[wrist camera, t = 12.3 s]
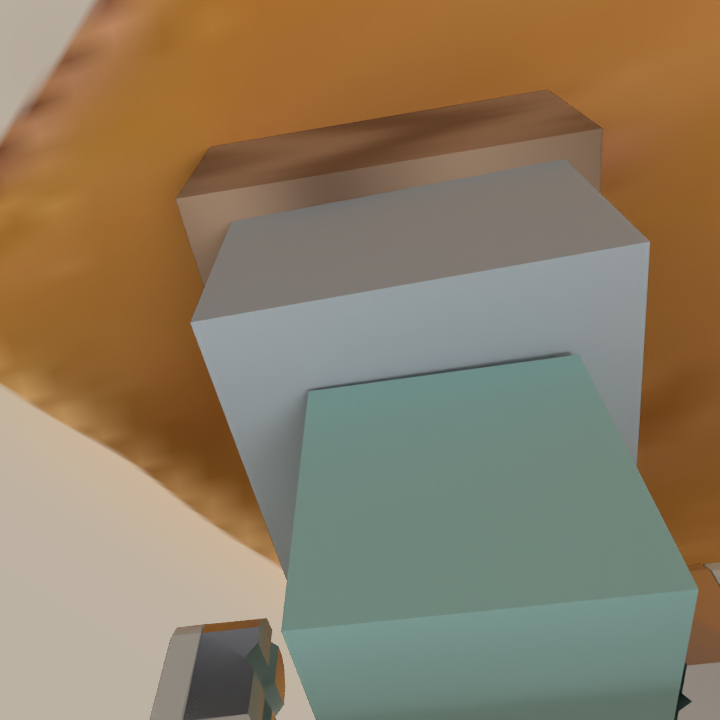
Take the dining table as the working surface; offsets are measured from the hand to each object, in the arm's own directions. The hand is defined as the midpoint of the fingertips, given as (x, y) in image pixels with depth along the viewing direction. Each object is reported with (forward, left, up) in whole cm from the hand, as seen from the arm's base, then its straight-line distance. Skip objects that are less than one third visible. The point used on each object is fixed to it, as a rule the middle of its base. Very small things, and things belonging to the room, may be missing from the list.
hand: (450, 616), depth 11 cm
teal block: (0, 0, -3) cm, 3 cm away
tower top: (0, 0, -8) cm, 8 cm away
